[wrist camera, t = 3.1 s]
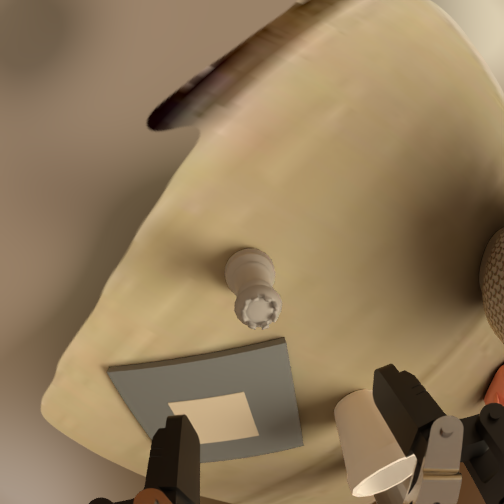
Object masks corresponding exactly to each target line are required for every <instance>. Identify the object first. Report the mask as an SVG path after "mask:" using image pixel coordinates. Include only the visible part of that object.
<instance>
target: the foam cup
mask: <svg viewBox="0 0 504 504" xmlns="http://www.w3.org/2000/svg"><path fill="white" fill-rule="evenodd" d="M372 392H373V391H372V390H368V389H362V390H357V391H354V392H352V393H350V394H348V395H346V396H345V397H344V398H343V399H342V400H340V401H339V402H338V403H337V405H336V407H335V409H334V416H335V421H336V426H337V430H338V434H339V439H340V443H341V448H342V452H343V457H344V462H345V466H346V471H347V482H348V485H349V488H350V490H351V493H352V495H354V496H357V497H364V496H371V495H374V494H377V493H380V492H382V491H385V490H387V489H389V488H391V487H393V486H395V485H397V484H399V483H401V482H402V481H404V480H405V479H407V478H408V477H410V476H411V475H412V474H413V470H414V467H415V463H416V460H417V458H416V456H415V455H414V454H413V455H411V456H409V457H407V458H406V457H405V455H404V453H403V451H402V450H401V448H400V446H399V444H398V443H397V441H396V439H395V437H394V436H393V434H392V432H391V430H390V429H389V427H388V425H387V424H386V422H385V420H384V418H383V417H382V415H381V413H380V412H379V410H378V408H377V407H376V405H375V403H374V400H373V394H372Z"/></svg>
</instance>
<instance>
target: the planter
mask: <svg viewBox="0 0 504 504" xmlns="http://www.w3.org/2000/svg"><path fill="white" fill-rule="evenodd" d="M479 284H480V288H481V291H482V294H483V305H484V311H485V314H486V317H487V321H488V323H489V324H490V326H491V328H492V329H493V331H494V333H495V334H496V335H497V337H498V338H499V339H500V340H501V341H502V343H503V344H504V227H503V228H501V229H500V230H498V231H497V232H496V233H495V234H494V235H493V236H492V238H491V239H490V241H489V243H488V244H487V247H486V249H485V251H484V254H483V257H482V261H481V265H480V271H479Z"/></svg>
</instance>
